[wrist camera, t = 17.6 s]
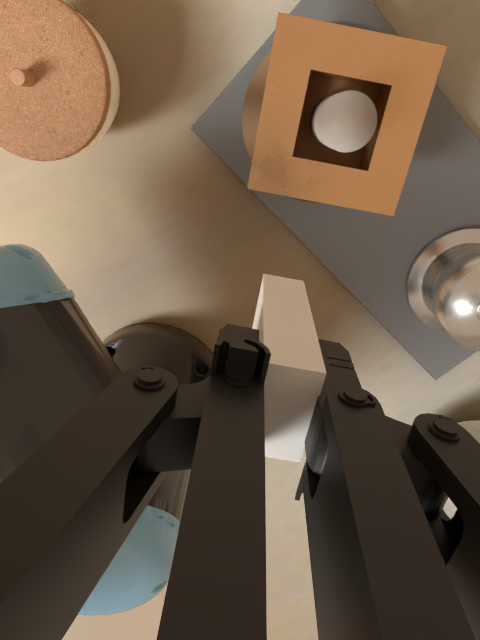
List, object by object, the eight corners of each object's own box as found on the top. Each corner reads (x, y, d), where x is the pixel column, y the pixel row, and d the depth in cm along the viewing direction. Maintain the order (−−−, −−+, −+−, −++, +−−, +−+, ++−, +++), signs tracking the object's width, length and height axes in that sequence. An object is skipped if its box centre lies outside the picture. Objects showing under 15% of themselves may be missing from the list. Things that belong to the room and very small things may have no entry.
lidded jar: (108, 176, 41) (67, 191, 32) (-6, 114, 39) (-81, 113, 31) (156, 55, 37) (124, 37, 28) (31, -20, 35) (-44, -63, 27)
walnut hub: (375, 213, 40) (421, 253, 28) (230, 186, 40) (216, 215, 28) (425, 45, 35) (508, 8, 23) (258, 12, 34) (256, -43, 23)
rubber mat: (574, 272, 42) (582, 276, 41) (431, 374, 48) (435, 380, 47) (335, -38, 34) (338, -43, 33) (192, 128, 39) (190, 128, 38)
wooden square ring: (382, 208, 33) (393, 216, 30) (248, 182, 33) (247, 188, 30) (430, 52, 29) (447, 45, 26) (277, 22, 29) (278, 12, 26)
